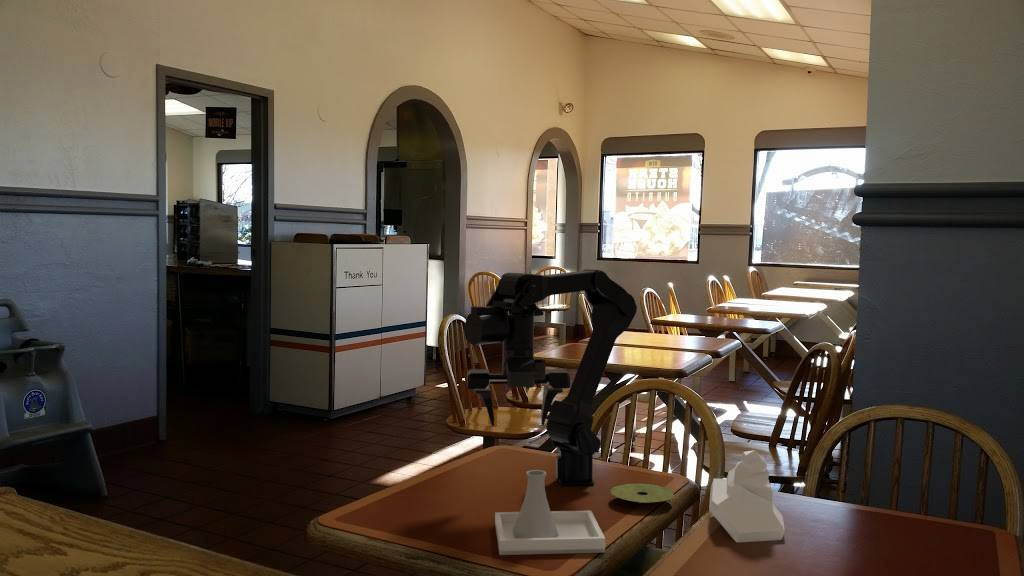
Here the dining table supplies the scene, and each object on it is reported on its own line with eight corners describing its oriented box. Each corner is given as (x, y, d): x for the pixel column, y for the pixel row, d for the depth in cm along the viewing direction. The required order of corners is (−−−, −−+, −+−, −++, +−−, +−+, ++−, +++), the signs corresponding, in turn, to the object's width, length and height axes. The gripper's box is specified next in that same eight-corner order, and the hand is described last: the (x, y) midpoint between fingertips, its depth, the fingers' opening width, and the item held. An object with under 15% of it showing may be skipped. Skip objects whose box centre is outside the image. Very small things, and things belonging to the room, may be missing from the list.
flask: (546, 524, 137) (546, 464, 136) (566, 539, 130) (567, 475, 129) (505, 530, 134) (506, 469, 133) (524, 545, 127) (524, 481, 126)
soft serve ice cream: (778, 525, 143) (802, 450, 140) (776, 564, 129) (803, 481, 126) (707, 500, 146) (729, 426, 143) (697, 535, 132) (721, 454, 129)
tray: (590, 523, 139) (591, 510, 139) (605, 552, 126) (605, 538, 126) (495, 525, 138) (495, 512, 138) (499, 555, 125) (499, 540, 125)
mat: (600, 496, 154) (600, 485, 154) (655, 490, 157) (655, 480, 157) (627, 515, 143) (627, 504, 143) (685, 509, 146) (685, 498, 146)
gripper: (468, 347, 144) (467, 436, 145) (575, 346, 145) (574, 434, 146) (467, 339, 155) (466, 422, 156) (566, 339, 157) (565, 421, 157)
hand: (517, 425), depth 154 cm, fingers open, 9 cm apart
